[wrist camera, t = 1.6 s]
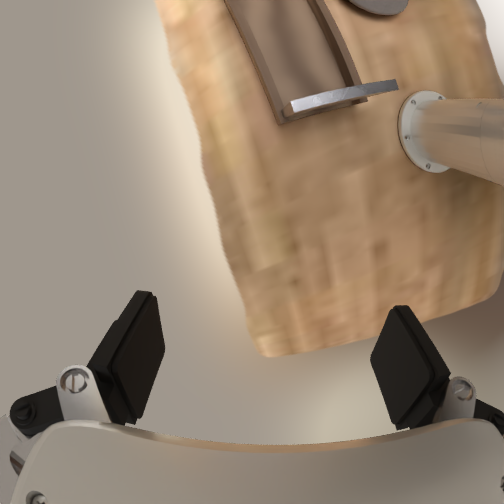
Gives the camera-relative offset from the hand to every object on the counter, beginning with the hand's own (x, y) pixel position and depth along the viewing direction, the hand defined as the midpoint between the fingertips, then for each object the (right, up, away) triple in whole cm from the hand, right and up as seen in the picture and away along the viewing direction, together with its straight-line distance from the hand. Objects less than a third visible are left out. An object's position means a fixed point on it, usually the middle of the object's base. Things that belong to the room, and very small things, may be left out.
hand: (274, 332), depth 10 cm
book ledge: (+4, +30, +17) cm, 35 cm away
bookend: (+7, +21, +19) cm, 29 cm away
